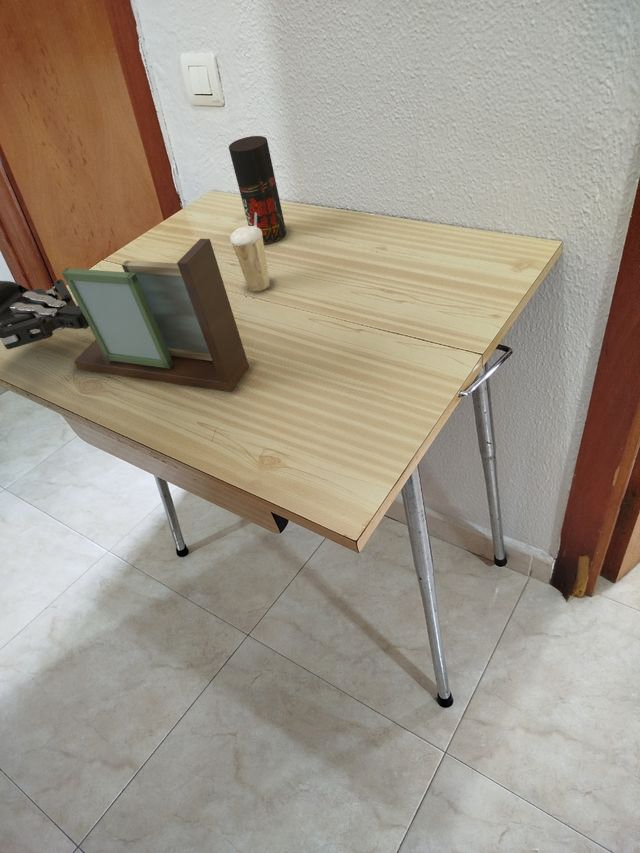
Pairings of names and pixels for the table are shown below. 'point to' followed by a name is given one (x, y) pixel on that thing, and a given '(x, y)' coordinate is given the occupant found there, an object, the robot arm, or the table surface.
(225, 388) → the window frame
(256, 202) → the deodorant
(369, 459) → the table surface
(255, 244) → the milkshake
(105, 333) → the panel
